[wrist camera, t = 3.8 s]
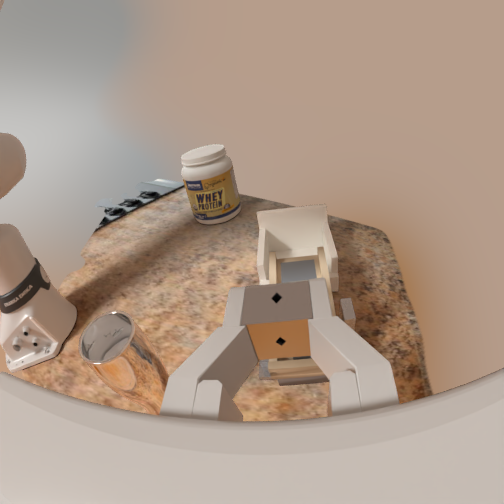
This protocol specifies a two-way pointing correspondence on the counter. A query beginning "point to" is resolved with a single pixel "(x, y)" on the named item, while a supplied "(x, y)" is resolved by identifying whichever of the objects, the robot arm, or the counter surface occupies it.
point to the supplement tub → (210, 184)
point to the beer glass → (125, 359)
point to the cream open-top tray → (295, 238)
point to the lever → (316, 267)
